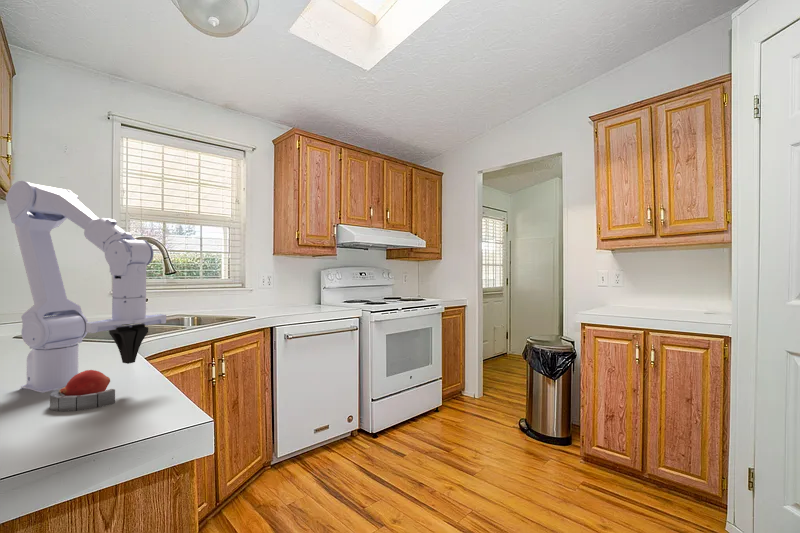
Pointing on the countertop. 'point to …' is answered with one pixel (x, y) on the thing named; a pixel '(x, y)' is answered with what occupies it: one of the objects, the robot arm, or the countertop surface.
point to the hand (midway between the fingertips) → (128, 362)
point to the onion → (86, 383)
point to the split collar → (80, 400)
